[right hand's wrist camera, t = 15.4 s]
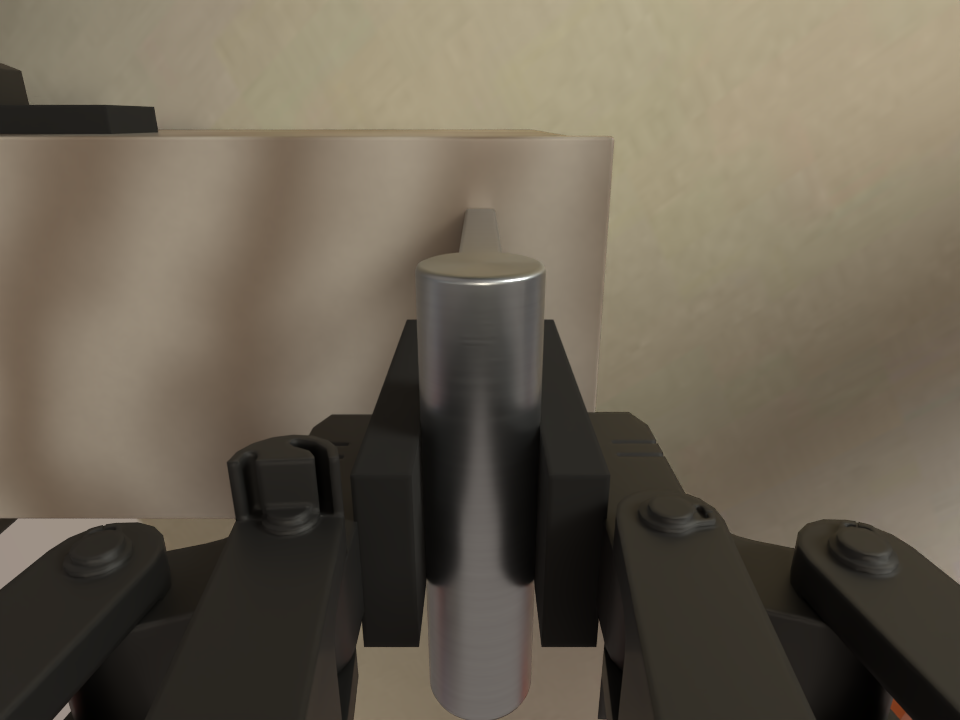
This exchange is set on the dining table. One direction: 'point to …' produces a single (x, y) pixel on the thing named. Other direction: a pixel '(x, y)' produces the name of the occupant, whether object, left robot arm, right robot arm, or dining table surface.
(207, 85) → the dining table surface
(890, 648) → the right robot arm
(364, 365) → the lid
